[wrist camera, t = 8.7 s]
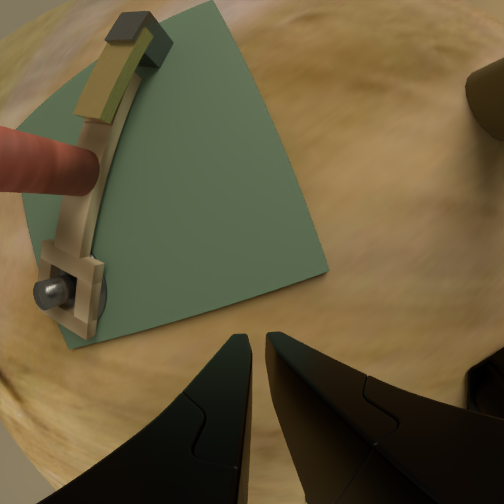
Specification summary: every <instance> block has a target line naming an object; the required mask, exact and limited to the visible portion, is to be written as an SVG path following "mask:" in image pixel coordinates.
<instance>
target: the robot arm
mask: <svg viewBox="0 0 504 504" xmlns="http://www.w3.org/2000/svg"><path fill="white" fill-rule="evenodd" d="M265 361H266V368H267V374H268V380H269V386H270V392H271V397H272V402H273V405H274V408H275V411H276V414H277V417H278V420H279V423H280V426H281V429H282V432H283V434H284V437H285V440H286V443H287V446H288V449H289V451H290V454H291V457H292V460H293V463H294V465H295V468H296V471H297V474H298V476H299V479H300V482H301V485H302V487H303V490H304V493H305V495H306V498H307V501H308V503H309V504H504V347H503V348H502V349H500V350H499V351H497V352H496V353H494V354H493V355H491V356H490V357H488V358H487V359H485V360H483V361H482V362H480V363H478V364H477V365H475V366H473V367H472V368H471V369H470V370H469V372H468V400H467V410H466V409H463V408H459V407H455V406H452V405H449V404H445V403H442V402H439V401H435V400H432V399H429V398H426V397H423V396H420V395H417V394H414V393H411V392H408V391H405V390H402V389H400V388H397V387H395V386H392V385H390V384H388V383H385V382H383V381H381V380H378V379H376V378H374V377H372V376H367V375H366V374H364V373H362V372H360V371H358V370H356V369H354V368H352V367H350V366H347V365H345V364H343V363H341V362H339V361H337V360H335V359H333V358H331V357H329V356H327V355H325V354H323V353H321V352H319V351H317V350H315V349H313V348H311V347H309V346H307V345H305V344H303V343H301V342H300V341H298V340H296V339H294V338H292V337H290V336H288V335H286V334H284V333H282V332H268V333H267V334H266V348H265ZM251 420H252V350H251V346H250V343H249V339H248V336H247V334H233V335H232V336H231V337H230V338H229V339H228V340H227V342H226V343H225V344H224V345H223V346H222V347H221V349H220V350H219V351H218V352H217V353H216V354H215V355H214V357H213V358H212V359H211V360H210V361H209V362H208V363H207V365H206V366H205V367H204V368H203V369H202V370H201V371H200V373H199V374H198V375H197V376H196V377H195V378H194V379H193V380H192V382H191V383H190V384H189V385H188V386H187V387H186V388H185V389H184V390H183V392H182V393H180V394H179V395H178V396H177V397H176V399H175V400H174V401H173V402H172V403H171V404H170V405H169V406H168V407H167V408H166V409H165V410H164V411H163V412H162V413H161V414H160V415H159V416H157V417H156V418H155V419H154V420H153V421H152V422H150V423H149V424H148V425H147V426H146V427H144V428H143V429H142V430H141V431H139V432H138V433H137V434H136V435H134V436H133V437H132V438H130V439H129V440H128V441H126V442H125V443H124V444H122V445H121V446H120V447H118V448H117V449H116V450H114V451H113V452H112V453H110V454H109V455H108V456H106V457H105V458H104V459H102V460H101V461H99V462H98V463H97V464H95V465H94V466H92V467H91V468H90V469H88V470H87V471H85V472H84V473H83V474H81V475H80V476H78V477H77V478H75V479H74V480H72V481H71V482H69V483H68V484H66V485H65V486H63V487H62V488H60V489H59V490H57V491H56V492H54V493H53V494H51V495H50V496H48V497H46V498H45V499H43V500H42V501H40V502H38V503H37V504H247V501H248V482H249V462H250V441H251Z"/></svg>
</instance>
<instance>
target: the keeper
mask: <svg viewBox="0 0 504 504" xmlns="http://www.w3.org/2000/svg"><path fill="white" fill-rule="evenodd" d="M105 41H106V42H108V43H107V45H106V46H105V48H104V50H103V52H102V53H101V55H100V57H99V59H98V61H97V63H96V65H95V66H94V68H93V70H92V72H91V74H90V76H89V78H88V80H87V82H86V85H85V87H84V89H83V91H82V93H81V95H80V98H79V100H78V102H77V105H76V107H75V109H74V112H73V114H74V115H76V116H79V117H81V118H83V119H88V120H94V121H99V122H104V123H108V124H110V123H111V121H112V118H113V116H114V114H115V111H116V109H117V107H118V104H119V102H120V100H121V98H122V96H123V93H124V91H125V89H126V87H127V85H128V83H129V81H130V79H131V77H132V75H133V73H134V71H135V69H136V67H137V66H142V67H152V68H161V66H162V64H163V62H164V60H165V58H166V56H167V54H168V53H169V51H170V49H171V47H172V45H173V44H174V42H173V41H172V40H171V38H170V37H169V36H168V34H167V33H166V32H165V30H164V29H163V28H162V27H161V25H160V24H159V23H158V21H157V20H156V19H155V18H154V16H153V15H152V14H151V12H150V11H139V12H123V13H121V15H120V16H119V18H118V19H117V21H116V22H115V24H114V25H113V27H112V28H111V30H110V32H109V33H108V35H107V36H106V38H105Z"/></svg>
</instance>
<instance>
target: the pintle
mask: <svg viewBox="0 0 504 504" xmlns="http://www.w3.org/2000/svg"><path fill="white" fill-rule="evenodd" d="M90 257H92V258H94V259H96V257H95V256H94V255H93V254H92V253H91V252H90ZM96 260H97V259H96ZM76 287H77V277H75V276H73V275H71V274H69V273H67V272H65V271H63V270H62V269H60V276H58V277H54V278H50V279H46V280H43V281H39V282H37V283H35V285H34V289H33V295H34V299H35V302H36V304H37V305H38V307H39V308H40V309H42V310H48V309H51V308H53V307H56V306H59V305H61V304H64V303H66V302H68V303H69V304H71V305H73V306H75V296H76ZM106 302H107V284H106V279H105V275H104V272H103V278H102V284H101V291H100V298H99V306H98V315H97V320H98V319H99V318H100V317H101V315H102V314H103V312H104V310H105V307H106Z"/></svg>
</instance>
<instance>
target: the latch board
mask: <svg viewBox="0 0 504 504" xmlns="http://www.w3.org/2000/svg"><path fill="white" fill-rule="evenodd" d="M159 24H160V25H161V27H162V28H163V29H164V30H165V32H166V33H167V34H168V36H169V37H170V38H171V40H172V41H173V42H174V44H173V45H172V47H171V49H170V51H169V53H168V54H167V56H166V58H165V60H164V62H163V64H162V66H161V68H152V67H142V66H137V67H136V69H135V71H134V72H135V73H136V74H137V75H138V76H139V77H141V78H142V80H141V82H140V84H139V87H138V89H137V91H136V94H135V96H134V99H133V101H132V104H131V106H130V109H129V112H128V114H127V117H126V120H125V122H124V125H123V128H122V131H121V134H120V137H119V140H118V143H117V146H116V149H115V152H114V155H113V158H112V162H111V165H110V168H109V172H108V175H107V179H106V183H105V186H104V190H103V194H102V198H101V202H100V206H99V211H98V215H97V220H96V224H95V229H94V234H93V240H92V245H91V251H90V252H91V253H92V254H93V255H94V256H95V257H96V259H97V260H99V261H101V262H103V263H105V265H104V271H103V272H104V275H105V279H106V284H107V302H106V307H105V310H104V312H103V314H102V315H101V317H100V318H99V319H98V320H97V324H96V335H94V336H93V337H91V338H89V339H88V340H85V339H84V338H82V337H80V336H79V335H77V334H75V333H74V332H72V331H70V330H69V329H67V328H66V327H64V326H63V325H61V324H59V323H58V322H57V323H58V325H59V327H60V330H61V332H62V335H63V337H64V339H65V342H66V344H67V346H68V348H69V349H73V348H77V347H81V346H85V345H90V344H93V343H97V342H101V341H105V340H109V339H113V338H117V337H120V336H124V335H128V334H132V333H135V332H139V331H142V330H146V329H150V328H153V327H157V326H160V325H164V324H167V323H171V322H174V321H178V320H181V319H184V318H188V317H191V316H194V315H198V314H201V313H204V312H208V311H211V310H214V309H217V308H221V307H224V306H227V305H230V304H233V303H236V302H239V301H243V300H246V299H249V298H252V297H255V296H258V295H261V294H264V293H267V292H270V291H273V290H276V289H279V288H282V287H285V286H288V285H291V284H294V283H297V282H299V281H302V280H305V279H308V278H311V277H314V276H317V275H319V274H322V273H325V272H328V271H329V268H328V265H327V262H326V259H325V256H324V253H323V250H322V247H321V244H320V241H319V238H318V236H317V233H316V230H315V227H314V224H313V221H312V219H311V216H310V213H309V211H308V208H307V205H306V202H305V200H304V197H303V194H302V192H301V189H300V187H299V184H298V182H297V179H296V176H295V174H294V171H293V169H292V166H291V164H290V161H289V159H288V156H287V154H286V152H285V149H284V147H283V144H282V142H281V140H280V137H279V135H278V132H277V130H276V128H275V126H274V123H273V121H272V119H271V116H270V114H269V112H268V110H267V107H266V105H265V103H264V101H263V98H262V96H261V94H260V92H259V90H258V88H257V85H256V83H255V81H254V79H253V77H252V75H251V73H250V71H249V69H248V67H247V65H246V62H245V60H244V58H243V56H242V54H241V52H240V50H239V48H238V46H237V44H236V42H235V41H234V39H233V37H232V35H231V33H230V31H229V29H228V27H227V25H226V23H225V21H224V20H223V18H222V16H221V14H220V12H219V10H218V9H217V7H216V5H215V3H214V1H213V0H210V1H208V2H205V3H202V4H200V5H197V6H195V7H193V8H190V9H188V10H186V11H183V12H181V13H179V14H177V15H175V16H173V17H170V18H168V19H166V20H164V21H162V22H160V23H159ZM97 61H98V60H96V61H95V62H93V63H92V64H91V65H89V66H88V67H87V68H85V69H84V70H82V71H81V72H80V73H78V74H77V75H76V76H75V77H73V78H72V79H71V80H69V81H68V82H67V83H66V84H64V85H63V86H62V87H61V88H60V89H58V90H57V91H56V92H55V93H54V94H53V95H51V96H50V97H49V98H48V99H47V100H46V101H45V102H43V103H42V104H41V105H40V106H39V107H38V108H37V109H36V110H35V111H34V112H33V113H32V114H31V115H30V116H29V117H28V118H27V119H26V120H25V121H24V122H23V123H22V124H21V125H20V126H19V127H18V128H17V129H16V130H18V131H22V132H26V133H30V134H33V135H37V136H41V137H45V138H48V139H52V140H56V141H59V142H63V143H66V144H70V145H73V146H76V145H77V142H78V139H79V136H80V133H81V130H82V127H83V124H84V122H83V121H84V119H83V118H81V117H79V116H76V115H74V114H73V112H74V109H75V107H76V105H77V102H78V100H79V98H80V95H81V93H82V91H83V89H84V87H85V85H86V82H87V80H88V78H89V76H90V74H91V72H92V70H93V68H94V66H95V65H96V63H97ZM22 197H23V203H24V209H25V214H26V219H27V224H28V229H29V233H30V237H31V242H32V246H33V250H34V253H35V257H36V261H37V264H38V268H39V266H40V256H41V247H42V240H48V239H54V240H55V236H56V230H57V224H58V218H59V213H60V208H61V203H62V198H63V195H52V194H35V193H22Z"/></svg>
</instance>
